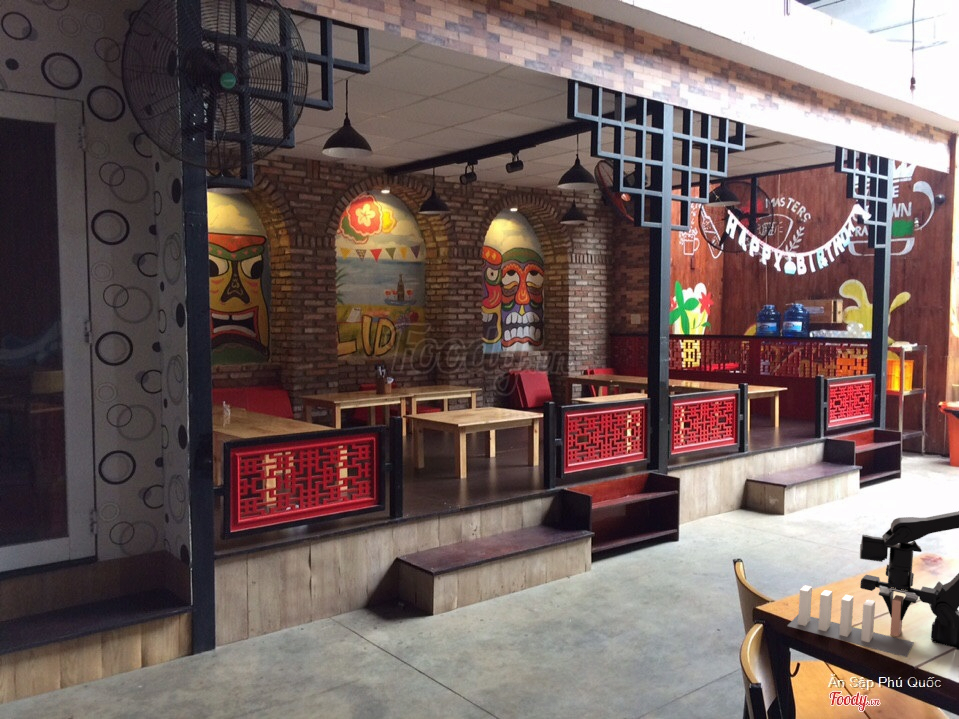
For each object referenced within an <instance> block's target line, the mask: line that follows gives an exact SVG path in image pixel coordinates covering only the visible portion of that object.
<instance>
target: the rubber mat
mask: <svg viewBox="0 0 959 719" xmlns="http://www.w3.org/2000/svg"><path fill="white" fill-rule="evenodd" d="M798 615H799V613H798V614H797V615H796V616H795V617H794V618H793V619H792V621H790V622H789V623H788V624H787V627H789V628H794V629H796V630H800V631H804V632H808V633H813V634H815V635H820V636H823V637H827V638H831V639H835V640H839V641H843V642H846V643H850V644H854V645H857V646H858V645H859V646H862V647H865V648H870V649H873V650H877V651H882V652H884V653H888V654H892V655H896V656H900V657H905V658H907V657H908V655H909V654H910V651H911V650H912V647H913V645H914V643H915V642H914V641H910V640H905V639H902V638H898V637H896V636H895V637H894V636H892V635H891V636H890V635H886V634H883V633H878V632H874V631H873V637H872V639H871V640H870V642H865V641H862V640H861V635H862V628H858V627H854V626H852V629H851V632H850V634H849V635H848V636H847V637H846V636H842V635H839V634H840V622H834V621H831V625H830V627H829V628H828V629H827V631H823V630H819V629H818V628H819V617H815V616H811V615H810V621H809V622H808V624H807V625H806V626H803V625H799V624H798Z"/></svg>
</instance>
